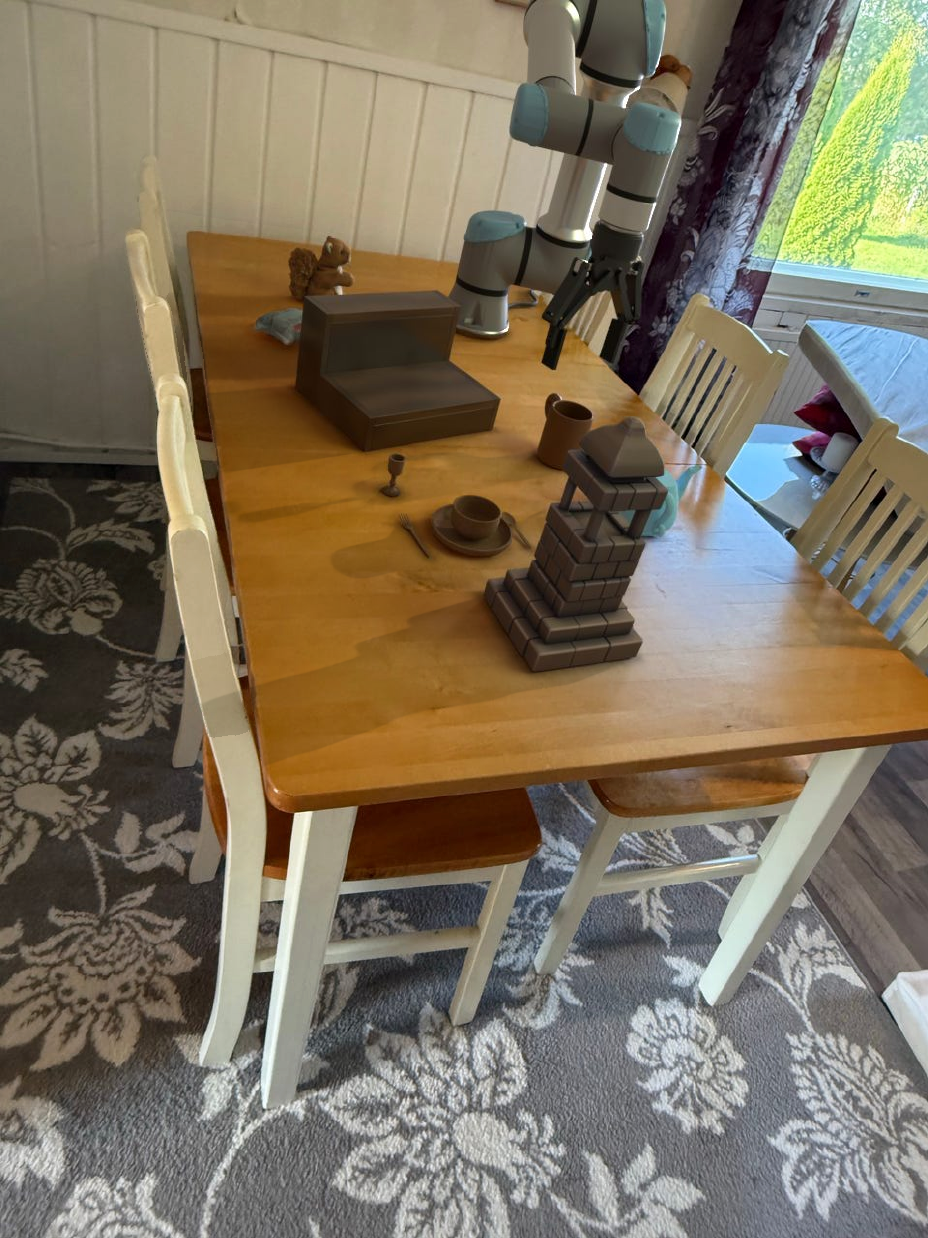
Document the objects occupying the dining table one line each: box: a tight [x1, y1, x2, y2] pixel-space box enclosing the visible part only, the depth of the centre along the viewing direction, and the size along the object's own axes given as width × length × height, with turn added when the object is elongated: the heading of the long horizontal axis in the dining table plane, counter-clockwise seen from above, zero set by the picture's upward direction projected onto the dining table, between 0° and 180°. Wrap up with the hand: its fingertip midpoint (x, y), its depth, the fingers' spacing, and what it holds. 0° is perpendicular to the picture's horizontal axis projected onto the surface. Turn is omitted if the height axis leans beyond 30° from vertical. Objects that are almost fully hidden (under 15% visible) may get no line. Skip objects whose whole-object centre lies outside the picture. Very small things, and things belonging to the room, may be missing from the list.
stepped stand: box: [294, 289, 502, 453], centre depth 144 cm, size 22×27×16 cm
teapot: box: [619, 465, 703, 538], centre depth 133 cm, size 13×14×11 cm
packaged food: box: [254, 307, 303, 346], centre depth 160 cm, size 9×12×5 cm
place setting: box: [381, 452, 532, 558], centre depth 123 cm, size 18×20×6 cm
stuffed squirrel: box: [287, 235, 355, 303], centre depth 175 cm, size 10×14×13 cm
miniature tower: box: [482, 416, 668, 672], centre depth 102 cm, size 16×15×30 cm
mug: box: [536, 392, 595, 471], centre depth 146 cm, size 12×8×9 cm, turn 21°
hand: (578, 363), depth 138 cm, fingers open, 13 cm apart
